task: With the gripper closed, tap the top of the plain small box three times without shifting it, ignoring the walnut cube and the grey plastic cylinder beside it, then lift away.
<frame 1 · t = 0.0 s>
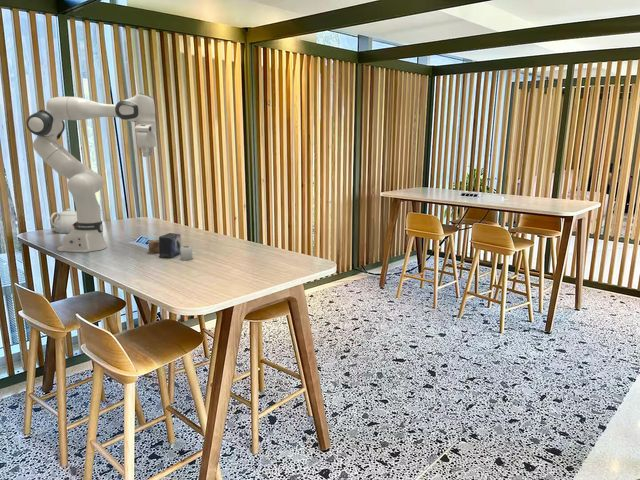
hand: (147, 156, 230), 48 cm above the table, fingers open, 8 cm apart
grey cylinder: (186, 258, 224), on the table
walnut cube: (155, 252, 234), on the table
teapot: (69, 231, 277), on the table
small box: (170, 256, 229), on the table
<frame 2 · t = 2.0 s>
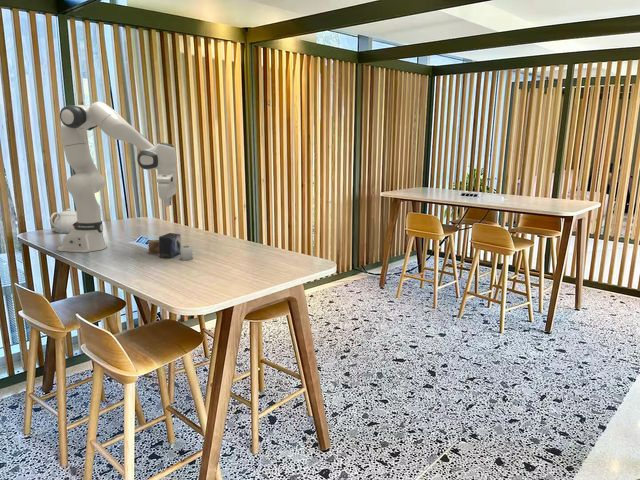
hand: (168, 205, 224), 25 cm above the table, fingers closed
nothing on the table moved.
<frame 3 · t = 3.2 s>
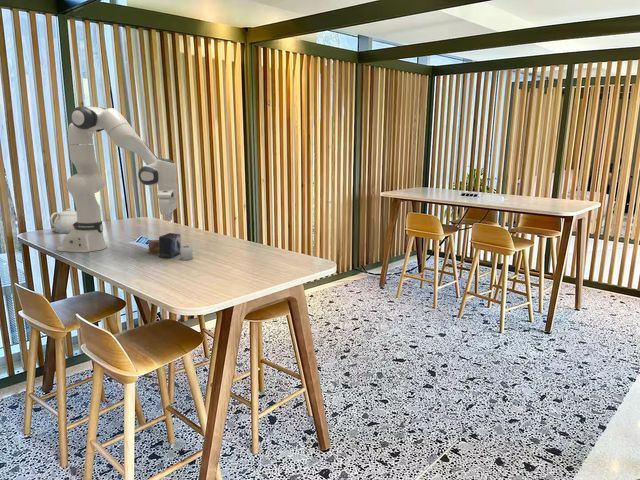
hand: (169, 220, 225), 18 cm above the table, fingers closed
nothing on the table moved.
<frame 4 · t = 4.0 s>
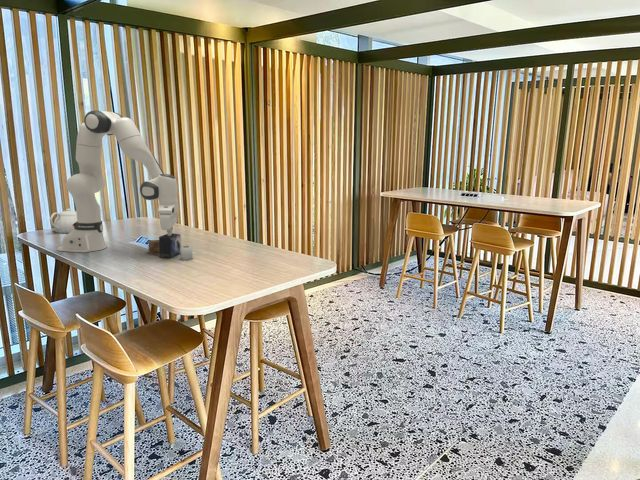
hand: (170, 235, 227), 10 cm above the table, fingers closed, pressing on small box
small box: (170, 256, 229), on the table, touching gripper
everything else where it was.
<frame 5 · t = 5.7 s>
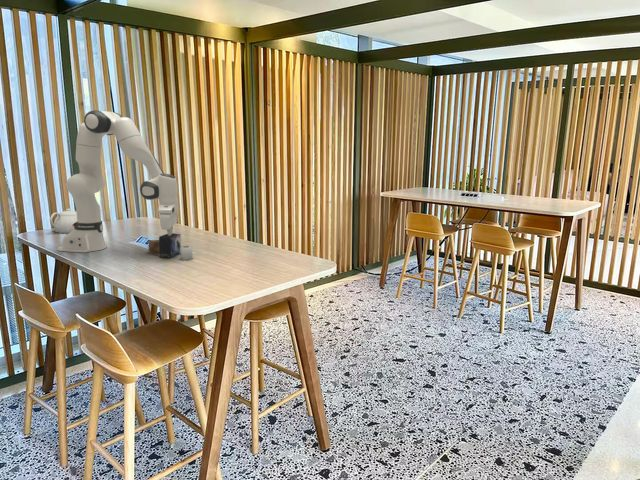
hand: (170, 235, 227), 11 cm above the table, fingers closed, pressing on small box
small box: (170, 255, 229), on the table, touching gripper
everything else where it was.
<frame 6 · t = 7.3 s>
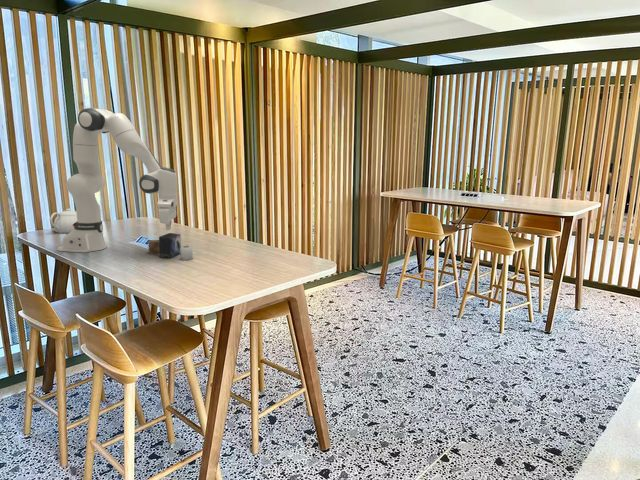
hand: (168, 229, 226), 13 cm above the table, fingers closed
small box: (170, 256, 229), on the table
everything else where it was.
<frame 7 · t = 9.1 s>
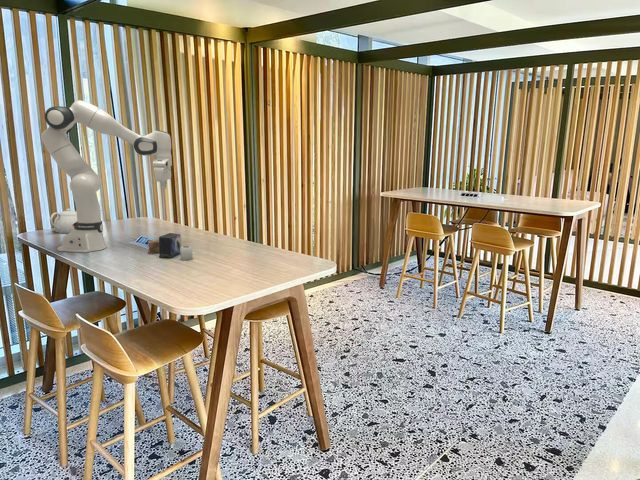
hand: (163, 188, 242), 31 cm above the table, fingers closed
nothing on the table moved.
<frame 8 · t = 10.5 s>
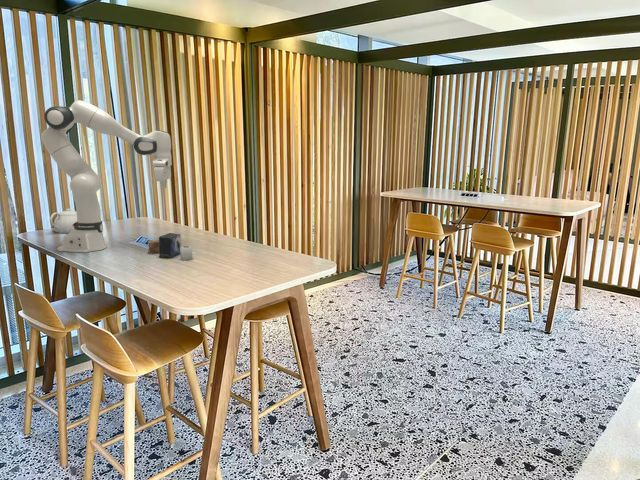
hand: (163, 188, 242), 31 cm above the table, fingers closed
nothing on the table moved.
at the end: small box moved 0.3 cm from its start; small box tilted 0°; the gripper is holding nothing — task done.
